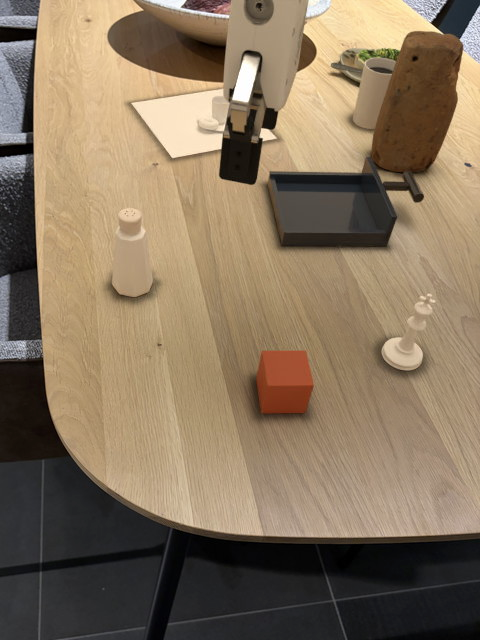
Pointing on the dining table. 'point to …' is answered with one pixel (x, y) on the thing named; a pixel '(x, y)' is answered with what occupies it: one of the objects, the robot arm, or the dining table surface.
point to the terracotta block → (284, 381)
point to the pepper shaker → (131, 256)
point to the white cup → (372, 91)
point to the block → (418, 102)
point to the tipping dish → (336, 206)
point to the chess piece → (409, 339)
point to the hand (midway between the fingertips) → (248, 151)
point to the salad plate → (361, 60)
